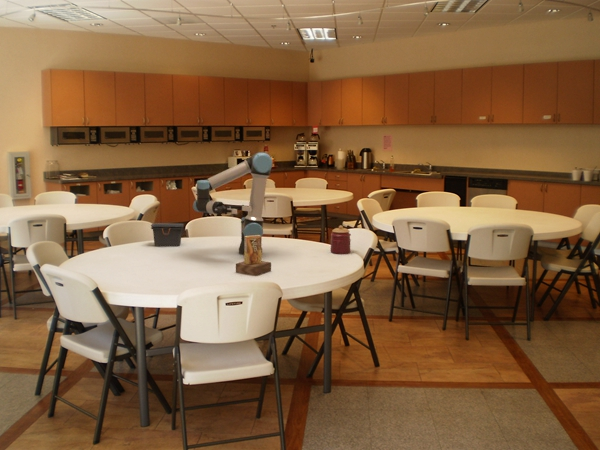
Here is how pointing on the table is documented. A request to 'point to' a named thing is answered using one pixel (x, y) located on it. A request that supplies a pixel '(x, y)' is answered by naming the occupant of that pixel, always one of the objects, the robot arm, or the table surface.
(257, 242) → the candy box
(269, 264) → the walnut base
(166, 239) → the storage bin
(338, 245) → the canister
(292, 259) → the table surface
